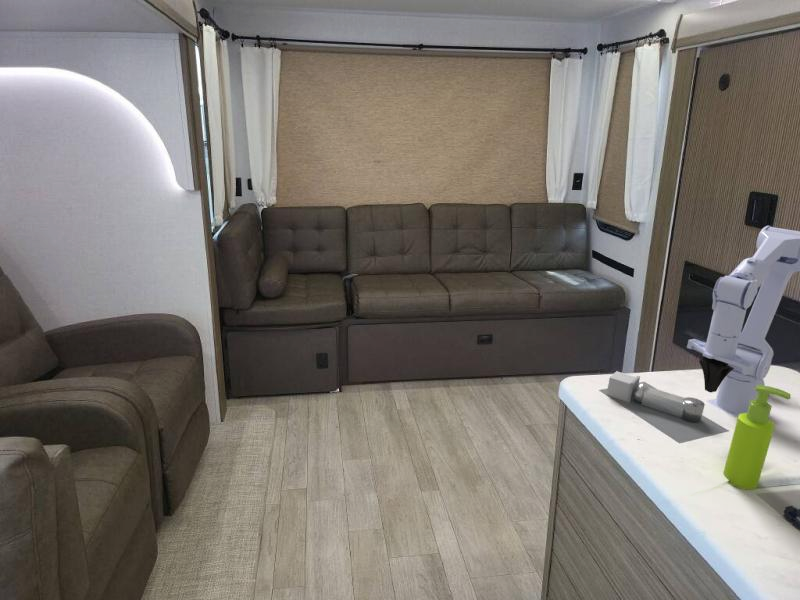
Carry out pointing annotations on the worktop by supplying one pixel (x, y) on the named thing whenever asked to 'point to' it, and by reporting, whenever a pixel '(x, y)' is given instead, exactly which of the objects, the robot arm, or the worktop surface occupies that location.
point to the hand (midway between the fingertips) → (710, 390)
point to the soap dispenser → (751, 440)
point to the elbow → (670, 403)
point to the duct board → (657, 411)
